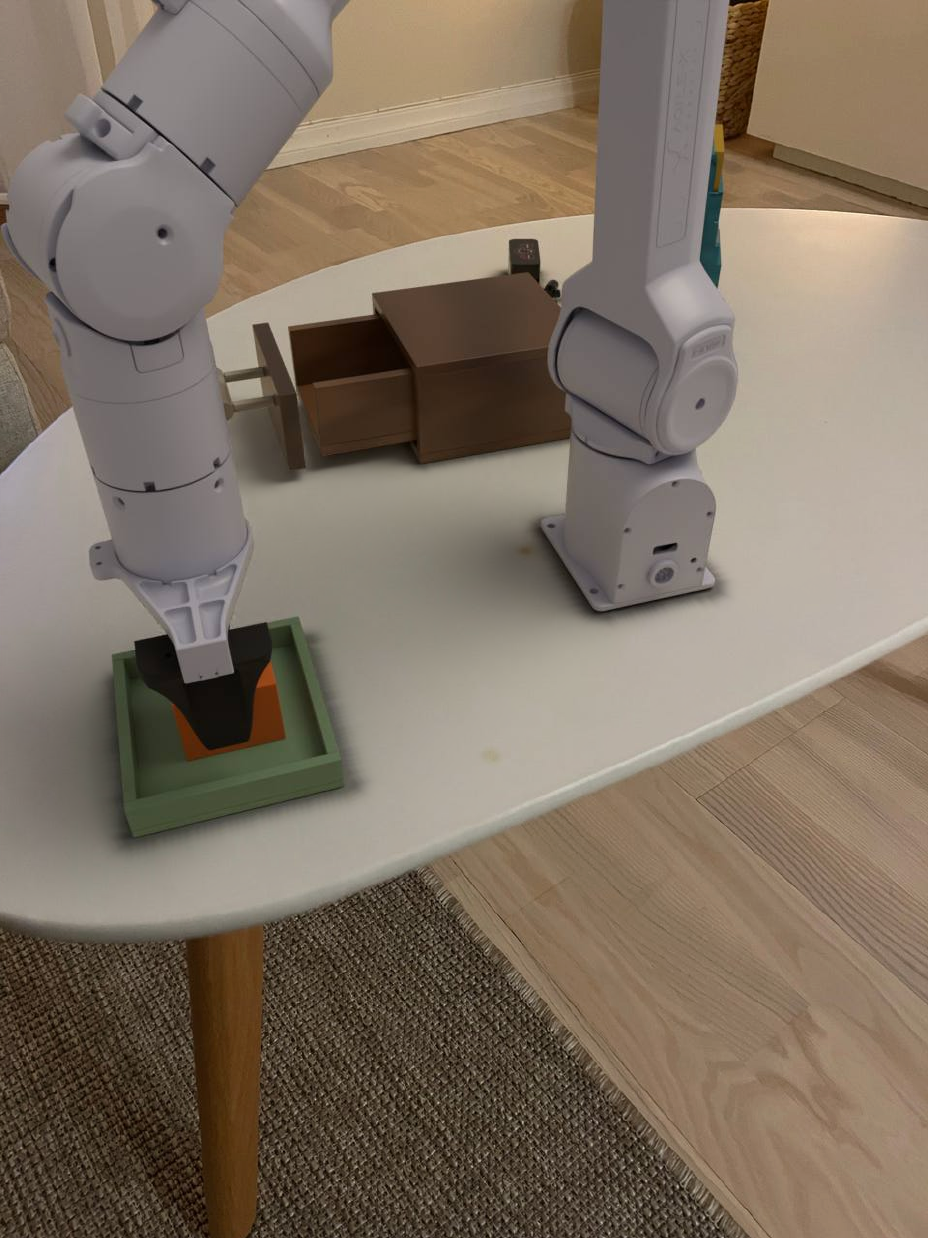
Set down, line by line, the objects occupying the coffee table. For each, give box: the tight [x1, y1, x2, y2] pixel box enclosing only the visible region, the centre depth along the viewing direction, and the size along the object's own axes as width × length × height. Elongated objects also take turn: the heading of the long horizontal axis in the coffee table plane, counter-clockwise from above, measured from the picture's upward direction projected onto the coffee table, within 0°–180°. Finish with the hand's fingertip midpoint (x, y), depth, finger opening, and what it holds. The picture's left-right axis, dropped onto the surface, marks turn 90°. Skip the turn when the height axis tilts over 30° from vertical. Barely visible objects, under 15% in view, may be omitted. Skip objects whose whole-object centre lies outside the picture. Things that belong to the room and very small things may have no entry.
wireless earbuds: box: [507, 238, 561, 299], centre depth 95 cm, size 5×7×3 cm, turn 179°
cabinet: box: [371, 272, 572, 465], centre depth 76 cm, size 13×13×8 cm
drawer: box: [216, 314, 417, 472], centre depth 73 cm, size 16×11×6 cm
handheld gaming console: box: [699, 123, 725, 290], centre depth 86 cm, size 10×4×15 cm, turn 170°
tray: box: [111, 616, 346, 838], centre depth 52 cm, size 11×10×2 cm
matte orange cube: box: [171, 661, 286, 761], centre depth 51 cm, size 4×5×4 cm
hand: (217, 686), depth 51 cm, fingers open, 7 cm apart
